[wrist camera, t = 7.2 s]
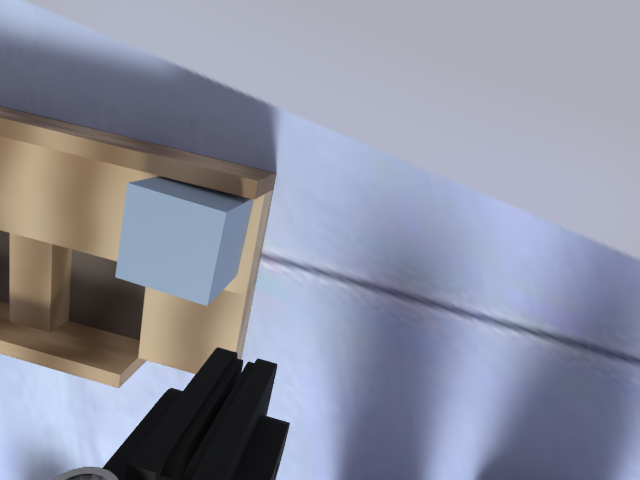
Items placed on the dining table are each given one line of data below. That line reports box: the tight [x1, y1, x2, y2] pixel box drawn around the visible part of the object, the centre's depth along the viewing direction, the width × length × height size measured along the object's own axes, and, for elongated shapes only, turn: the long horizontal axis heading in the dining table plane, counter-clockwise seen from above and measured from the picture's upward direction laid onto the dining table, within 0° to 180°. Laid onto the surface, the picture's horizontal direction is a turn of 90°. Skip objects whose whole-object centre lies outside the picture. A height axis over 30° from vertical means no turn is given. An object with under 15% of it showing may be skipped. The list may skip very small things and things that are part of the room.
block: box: [115, 176, 254, 306], centre depth 22 cm, size 5×5×4 cm
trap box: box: [0, 106, 276, 388], centre depth 26 cm, size 29×15×4 cm, turn 78°
